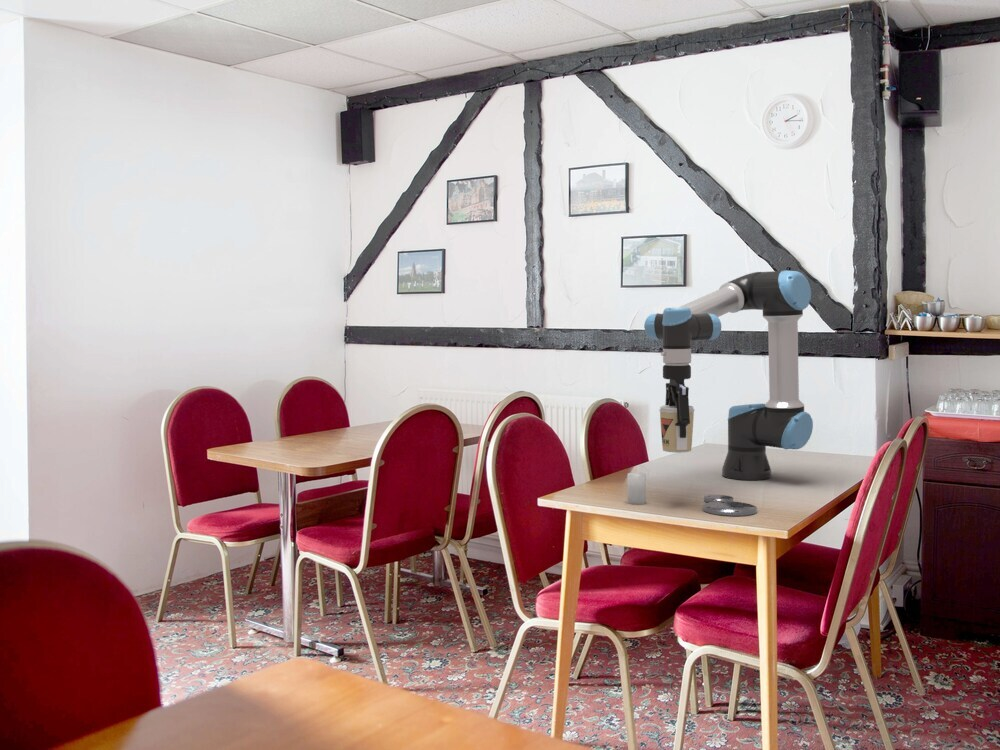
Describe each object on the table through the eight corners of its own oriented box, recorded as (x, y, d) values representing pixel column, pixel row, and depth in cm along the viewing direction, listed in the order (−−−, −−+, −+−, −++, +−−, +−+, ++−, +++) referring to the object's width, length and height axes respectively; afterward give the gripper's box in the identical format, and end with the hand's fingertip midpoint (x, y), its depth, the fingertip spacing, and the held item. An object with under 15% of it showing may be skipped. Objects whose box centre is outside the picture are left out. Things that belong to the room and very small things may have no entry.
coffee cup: (655, 448, 256) (655, 405, 255) (688, 447, 257) (688, 404, 256) (664, 453, 247) (664, 409, 246) (698, 452, 248) (698, 408, 247)
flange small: (712, 497, 262) (712, 493, 262) (738, 500, 257) (738, 497, 257) (698, 501, 256) (698, 498, 256) (725, 505, 251) (725, 501, 251)
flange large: (745, 504, 252) (745, 500, 252) (764, 515, 238) (764, 511, 238) (695, 505, 251) (695, 501, 251) (712, 517, 237) (712, 513, 237)
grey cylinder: (643, 500, 259) (643, 472, 258) (647, 504, 254) (647, 475, 253) (625, 500, 258) (625, 472, 258) (629, 504, 253) (629, 475, 253)
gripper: (653, 362, 260) (653, 441, 262) (674, 367, 239) (674, 453, 241) (679, 361, 261) (679, 440, 263) (702, 366, 240) (702, 452, 241)
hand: (677, 446), depth 252 cm, fingers closed on coffee cup, 9 cm apart
